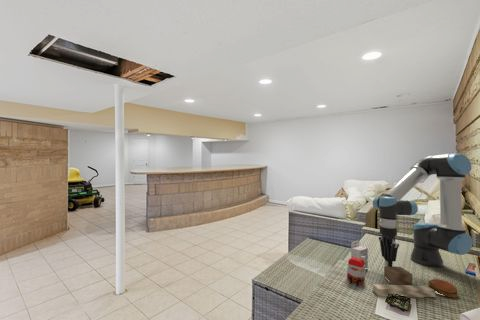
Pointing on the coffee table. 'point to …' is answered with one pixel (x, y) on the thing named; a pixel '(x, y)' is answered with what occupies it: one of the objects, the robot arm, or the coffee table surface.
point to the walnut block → (397, 275)
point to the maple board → (404, 290)
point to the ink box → (359, 252)
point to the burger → (443, 287)
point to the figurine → (356, 270)
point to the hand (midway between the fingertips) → (388, 273)
